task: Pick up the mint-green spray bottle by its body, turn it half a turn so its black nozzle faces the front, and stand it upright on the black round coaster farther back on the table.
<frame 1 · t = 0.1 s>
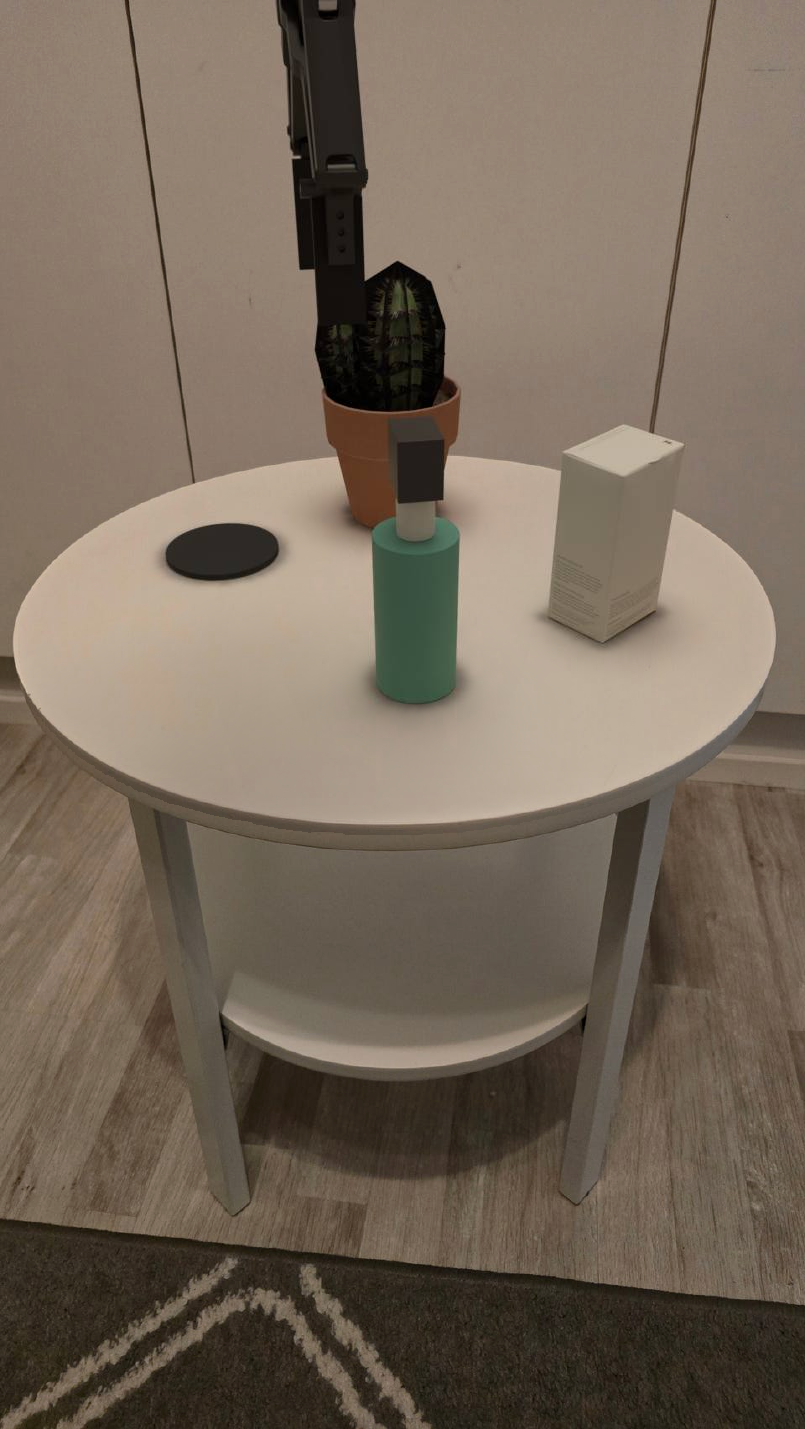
hand: (329, 294, 61), 30 cm above the table, tool pointing down, fingers open, 13 cm apart
potted plant: (393, 514, 104), on the table
black round coaster: (222, 553, 97), on the table
cosmetic box: (602, 617, 87), on the table
spray bottle: (416, 680, 79), on the table
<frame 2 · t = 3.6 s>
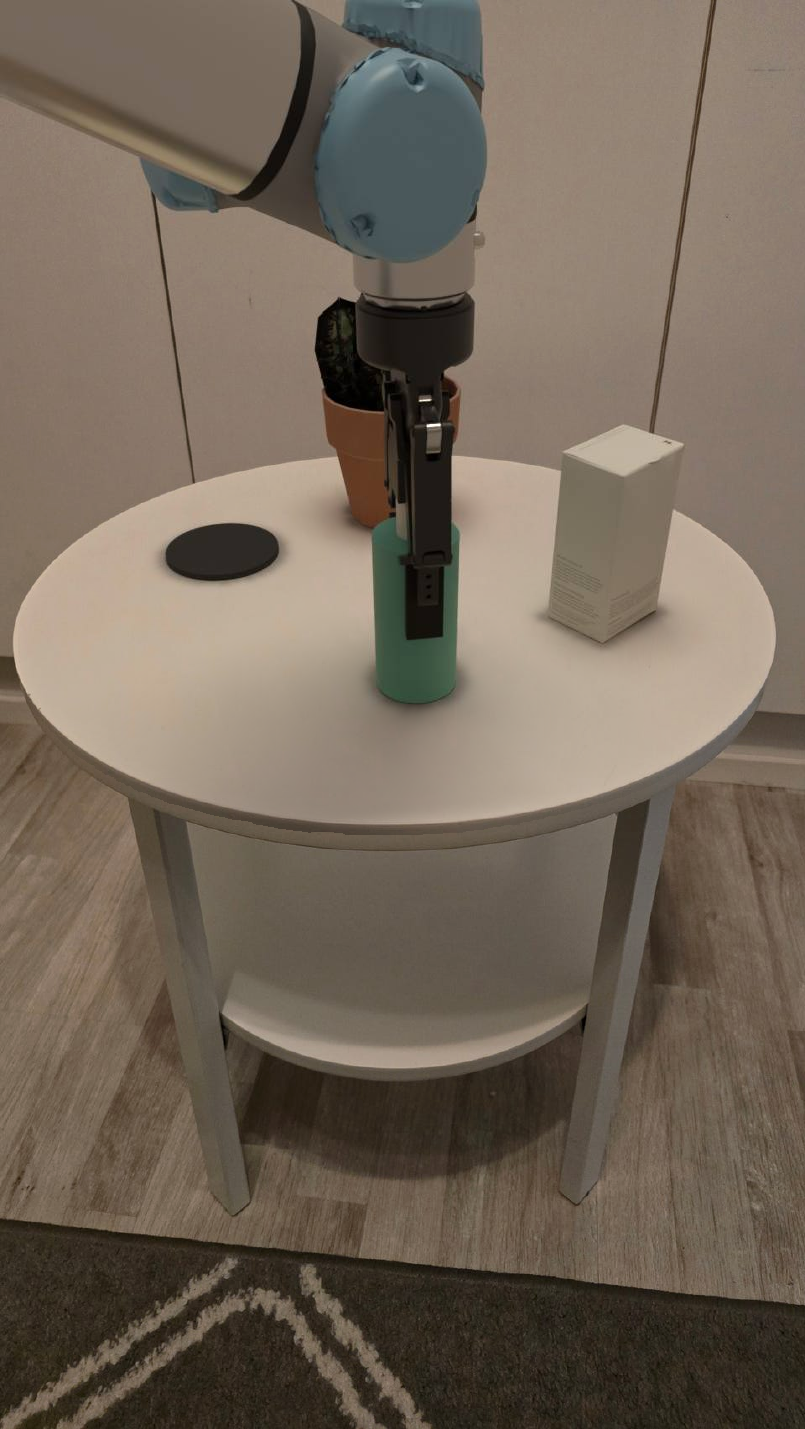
hand: (415, 611, 75), 6 cm above the table, tool pointing down, fingers closed on spray bottle, 6 cm apart
spray bottle: (416, 680, 79), on the table, touching gripper
everything else where it was.
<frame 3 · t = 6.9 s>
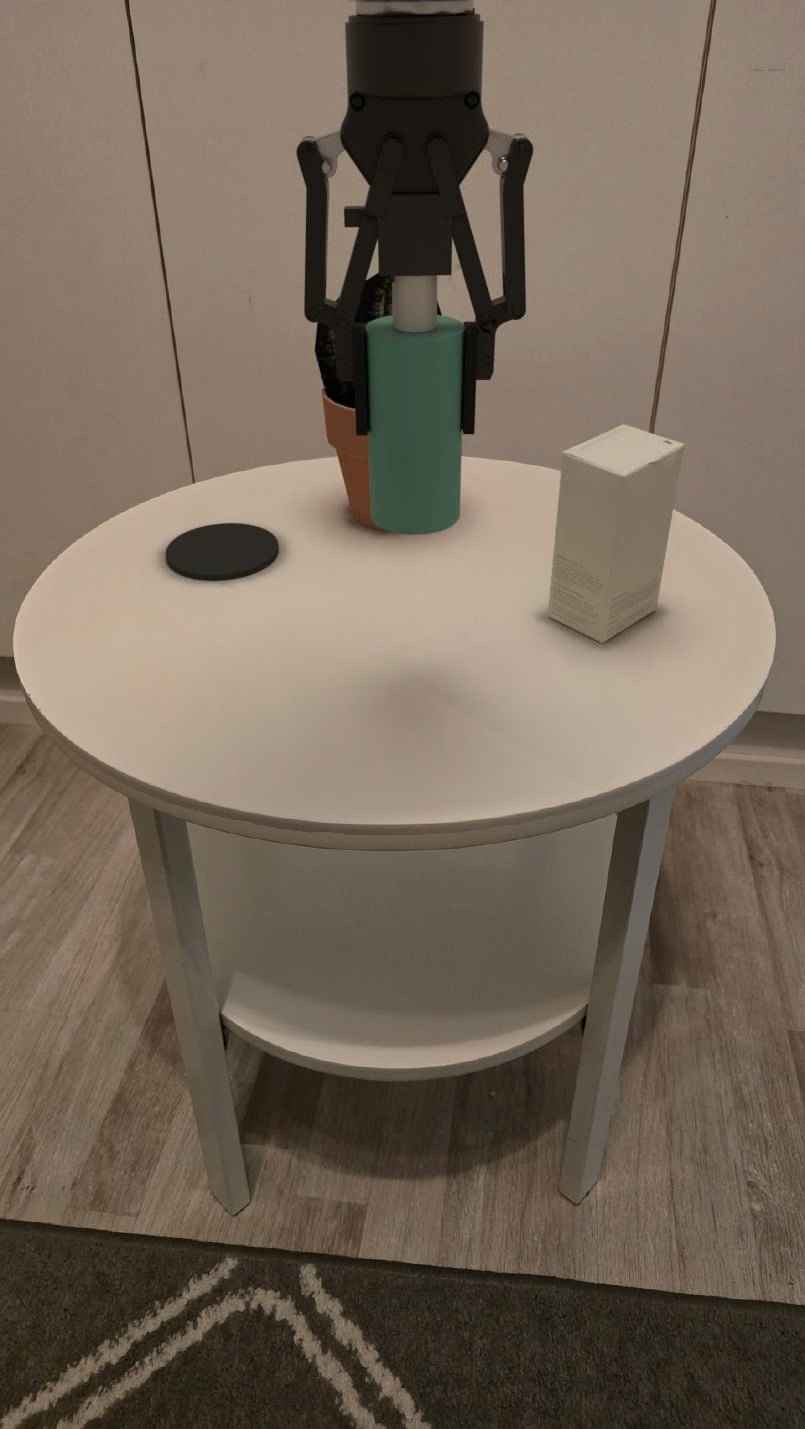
hand: (415, 427, 67), 21 cm above the table, tool pointing down, fingers closed on spray bottle, 6 cm apart
spray bottle: (415, 514, 70), point 14 cm above the table, touching gripper
everything else where it was.
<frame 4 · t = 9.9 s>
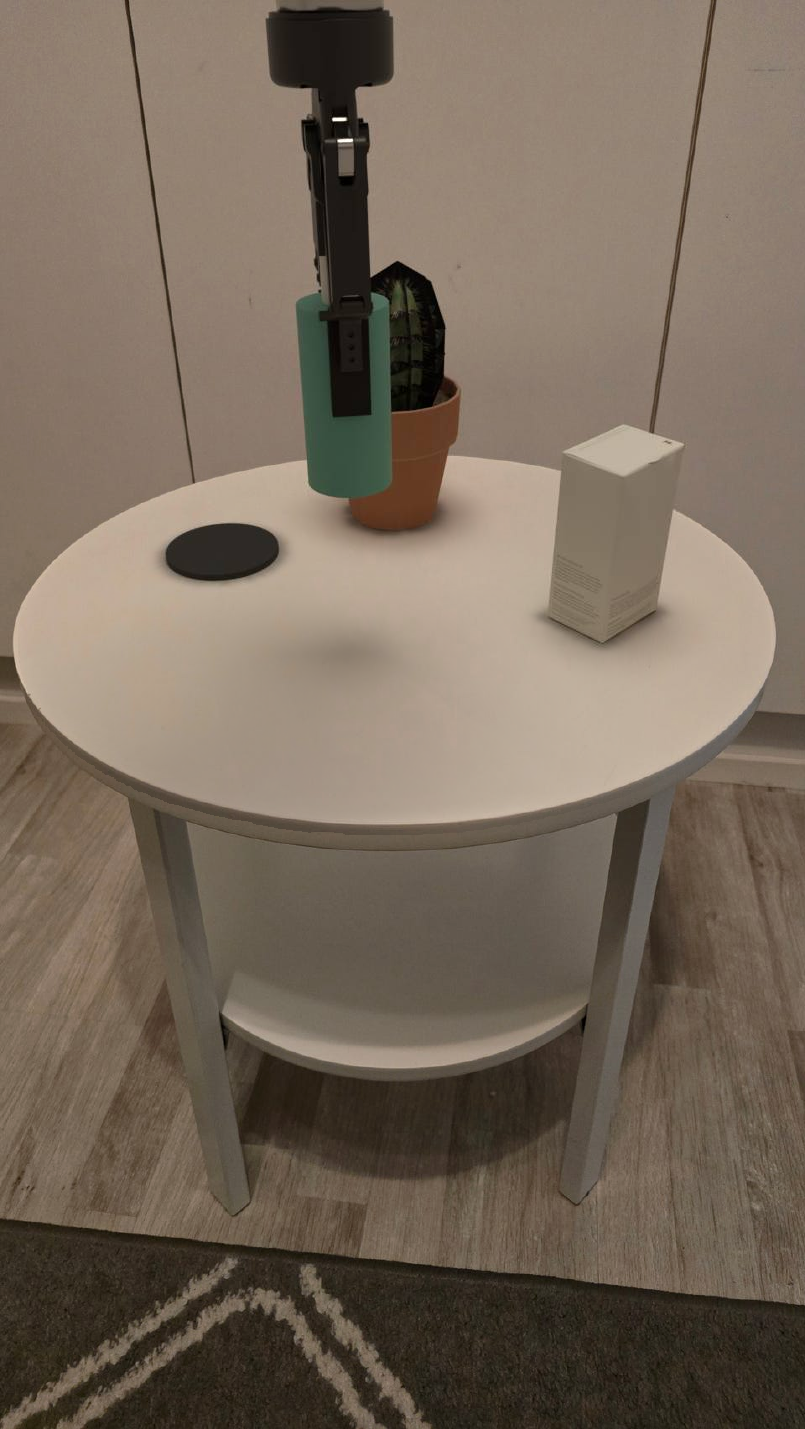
hand: (346, 396, 71), 21 cm above the table, tool pointing down, fingers closed on spray bottle, 6 cm apart
spray bottle: (350, 480, 75), point 15 cm above the table, touching gripper
everything else where it was.
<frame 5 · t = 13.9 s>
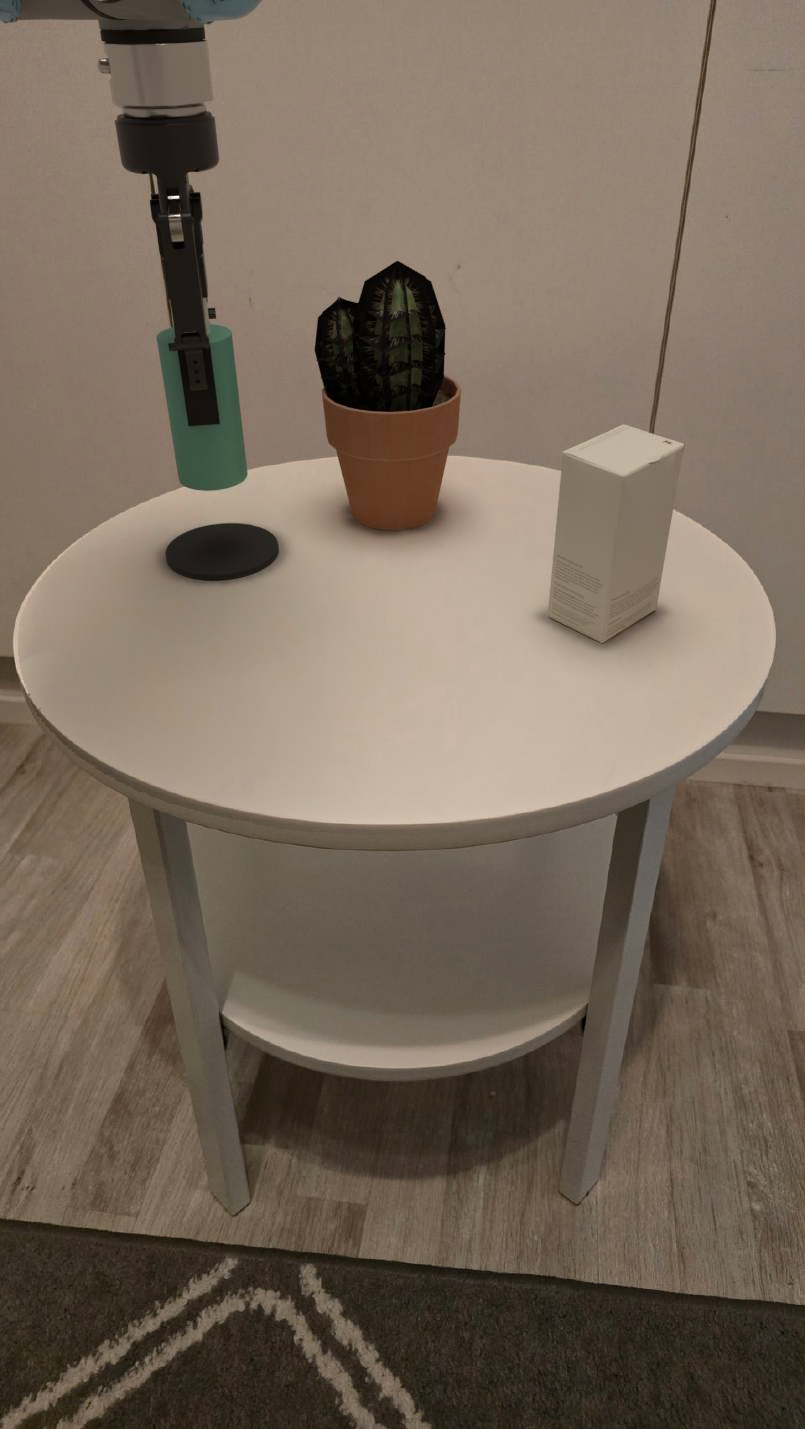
hand: (204, 409, 88), 14 cm above the table, tool pointing down, fingers closed on spray bottle, 6 cm apart
spray bottle: (213, 476, 92), point 8 cm above the table, touching gripper
everything else where it was.
when the fingers open (7 cm above the table, at t = 16.6 s): spray bottle stays where it is, resting on black round coaster.
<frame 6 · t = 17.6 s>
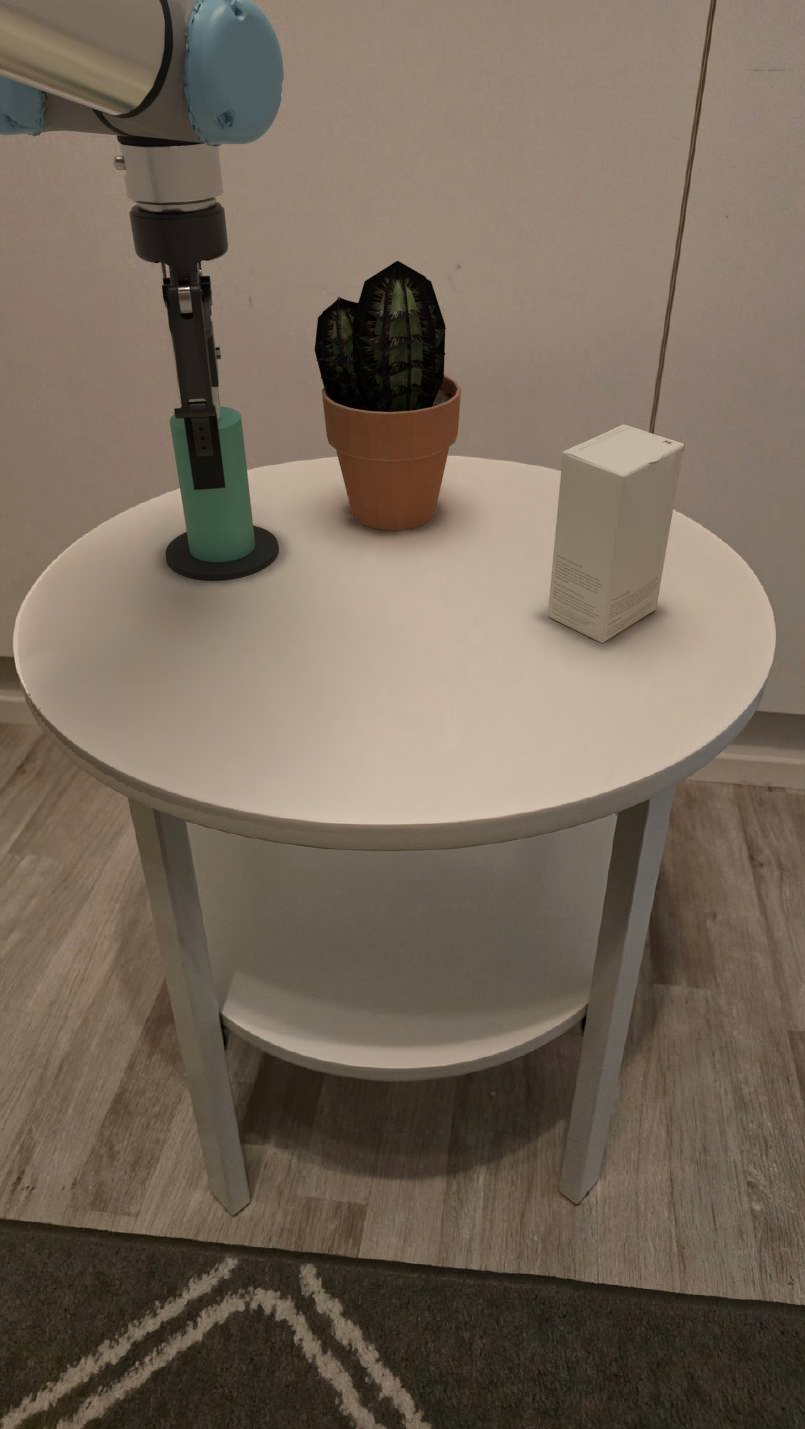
hand: (209, 458, 91), 10 cm above the table, tool pointing down, fingers open, 13 cm apart
spray bottle: (222, 547, 97), point 1 cm above the table, touching black round coaster
everything else where it was.
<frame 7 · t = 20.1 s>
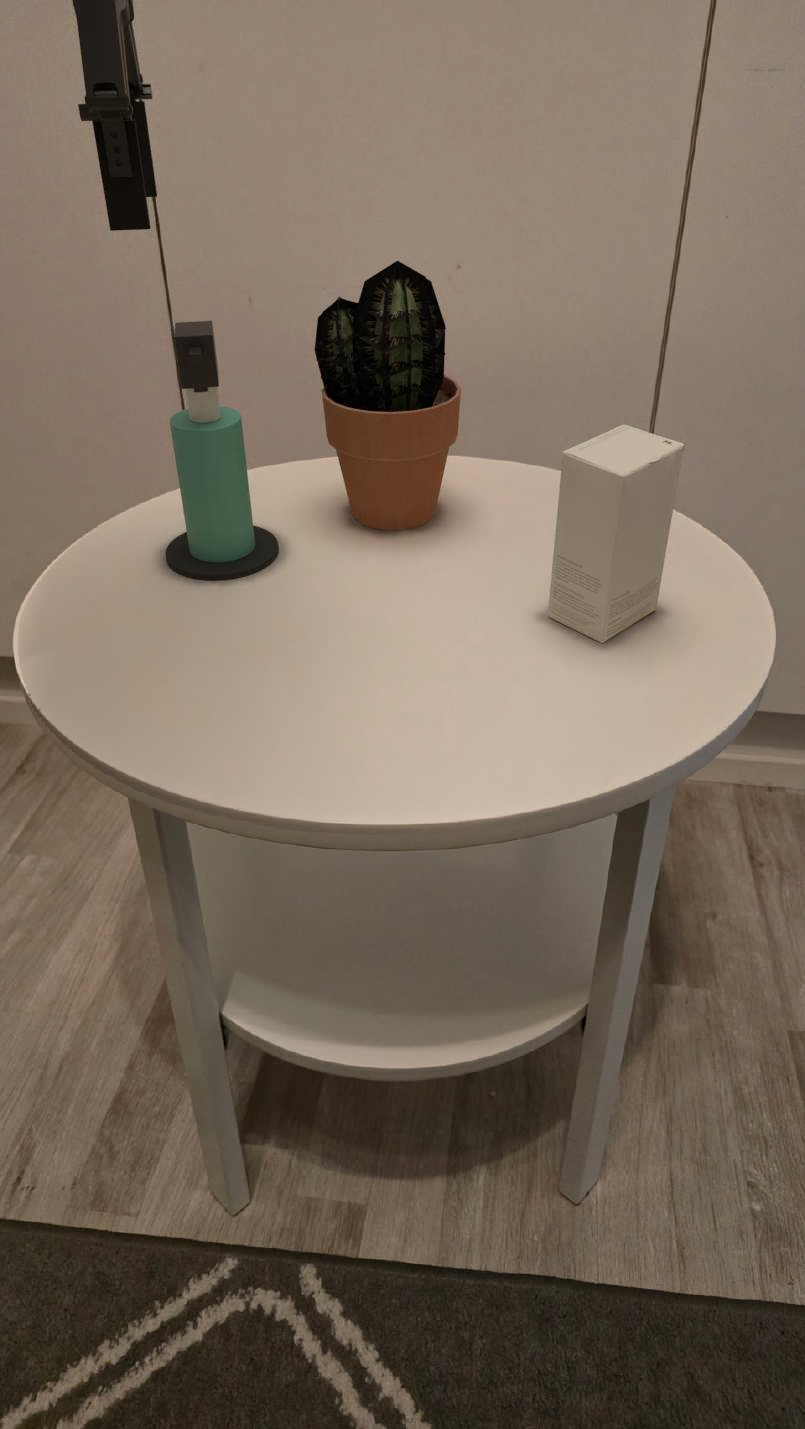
hand: (135, 212, 74), 31 cm above the table, tool pointing down, fingers open, 13 cm apart
nothing on the table moved.
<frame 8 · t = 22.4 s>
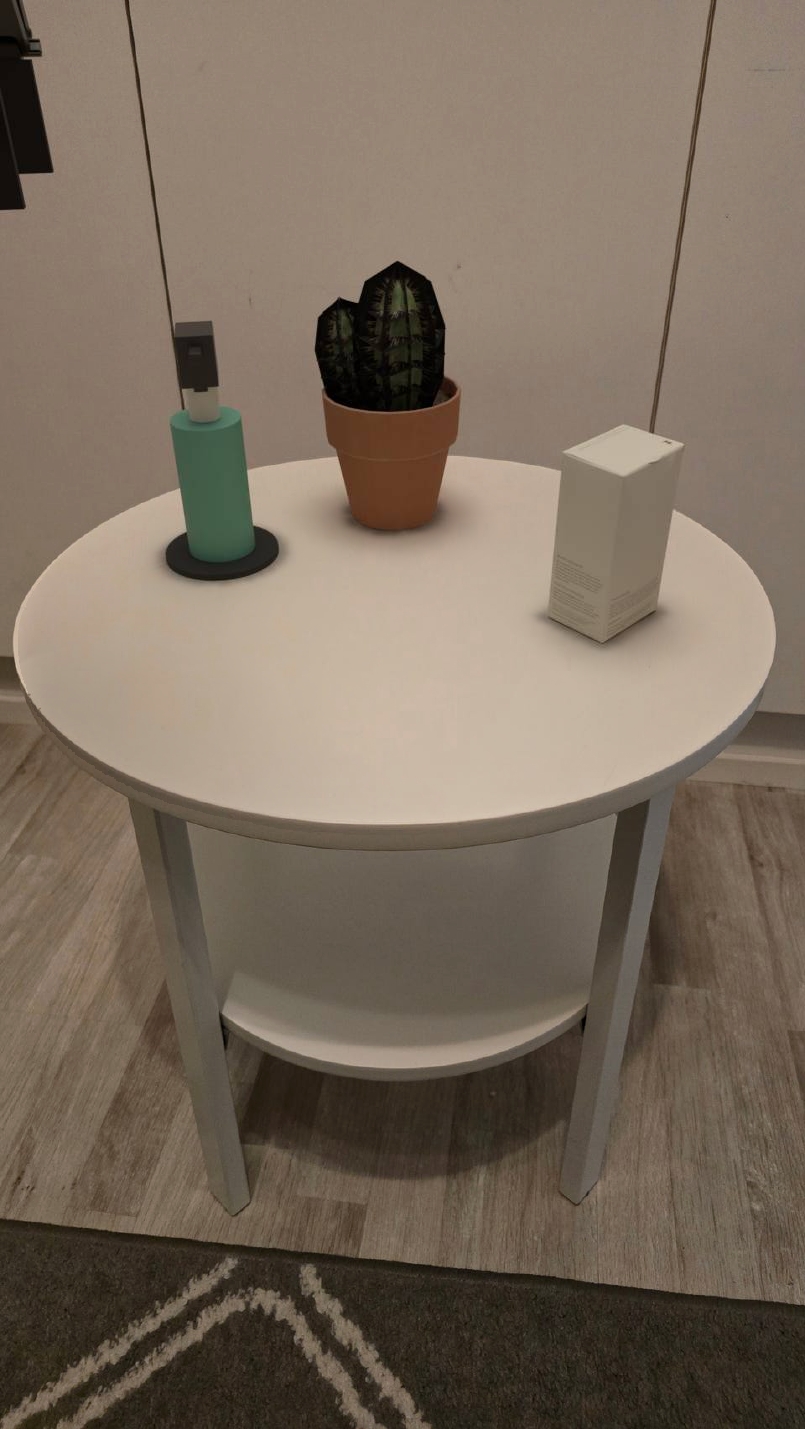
hand: (18, 190, 62), 35 cm above the table, tool pointing down, fingers open, 13 cm apart
nothing on the table moved.
at the end: spray bottle inside the target area on the black round coaster (0.0 cm from its centre), point 0.6 cm above the black round coaster's base; spray bottle tilted 0°; the gripper is holding nothing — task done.
